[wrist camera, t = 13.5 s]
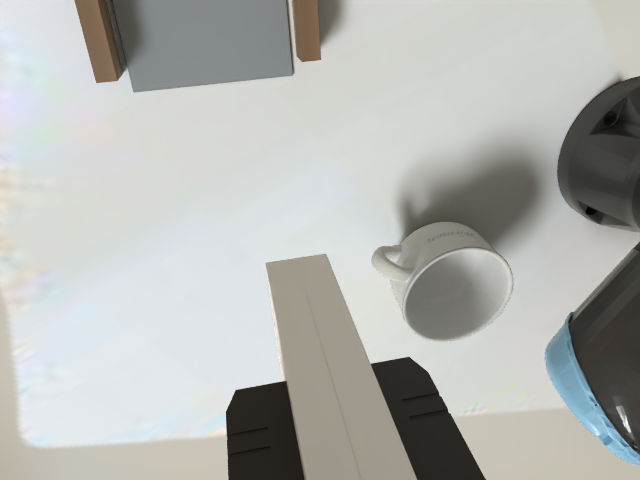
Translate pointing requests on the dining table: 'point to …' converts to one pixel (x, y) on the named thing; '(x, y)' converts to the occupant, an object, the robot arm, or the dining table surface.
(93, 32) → the lane rails
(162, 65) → the grey square panel
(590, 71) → the dining table surface
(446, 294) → the teacup
